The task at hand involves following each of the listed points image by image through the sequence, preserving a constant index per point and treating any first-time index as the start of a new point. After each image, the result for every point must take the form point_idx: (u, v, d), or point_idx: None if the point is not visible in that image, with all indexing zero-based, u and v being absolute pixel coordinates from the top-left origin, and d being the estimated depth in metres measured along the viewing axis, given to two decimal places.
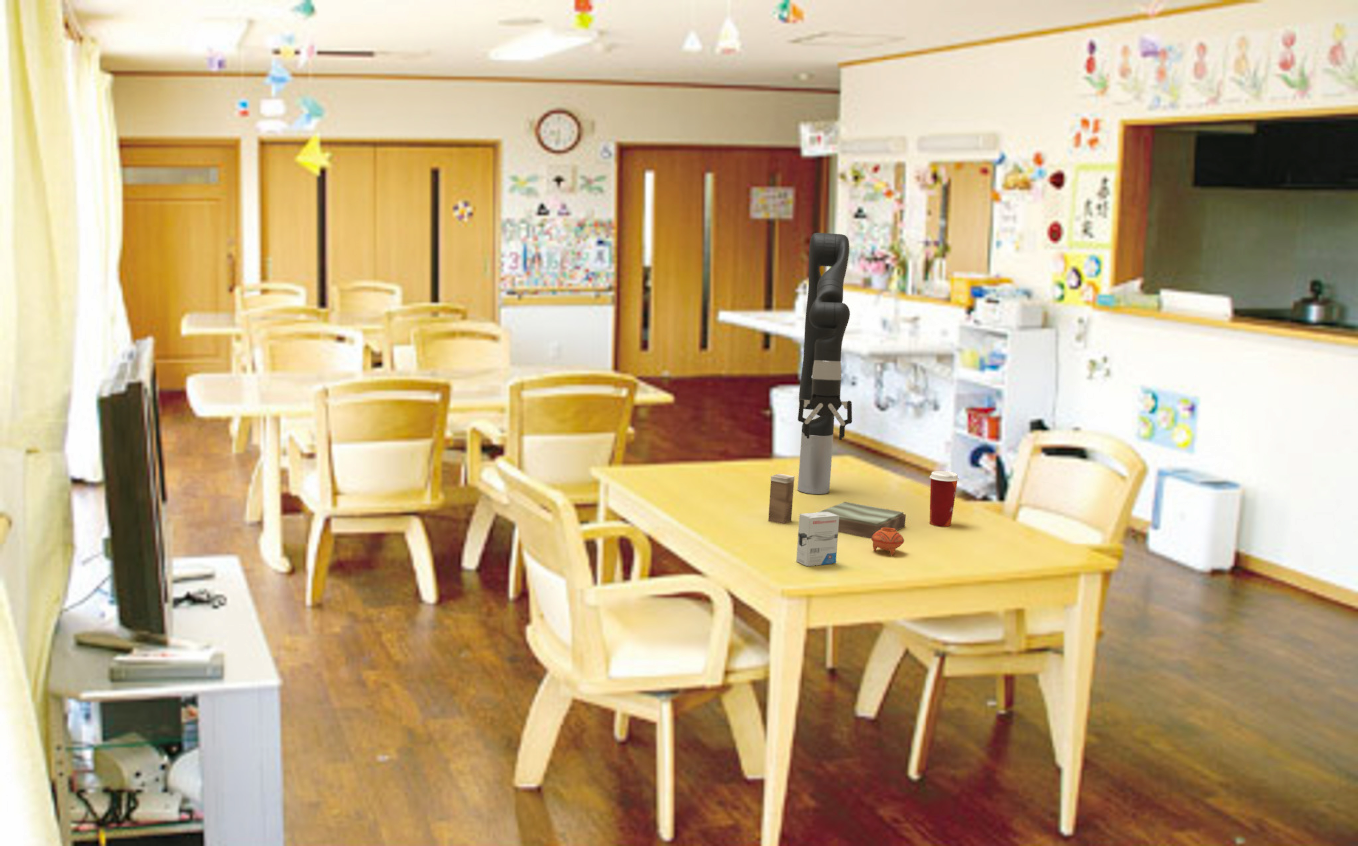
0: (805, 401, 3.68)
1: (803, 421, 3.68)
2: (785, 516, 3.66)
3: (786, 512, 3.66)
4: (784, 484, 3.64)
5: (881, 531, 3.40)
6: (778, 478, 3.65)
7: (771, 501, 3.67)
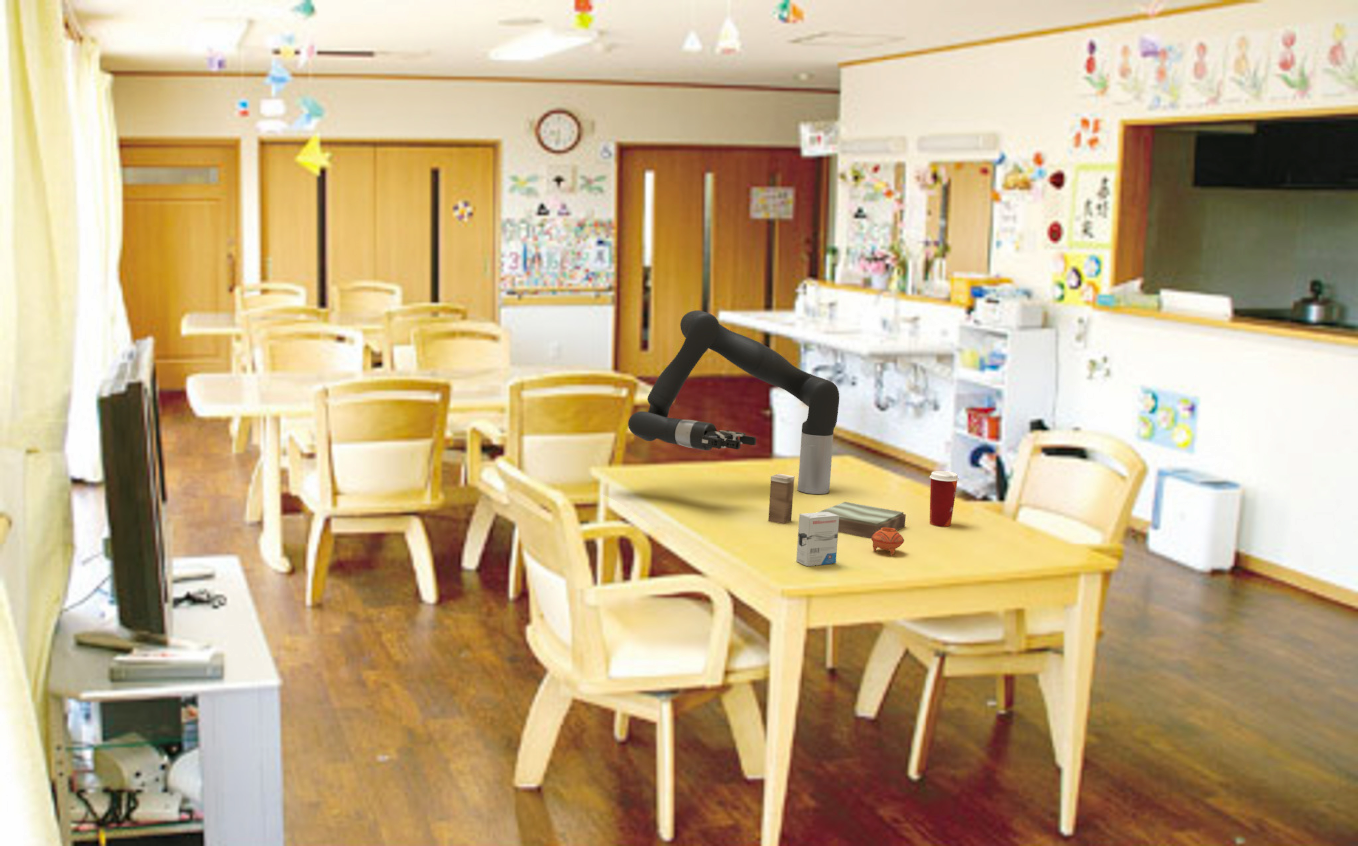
0: None
1: None
2: (785, 516, 3.66)
3: (786, 512, 3.66)
4: (784, 484, 3.64)
5: (881, 531, 3.40)
6: (778, 478, 3.65)
7: (771, 501, 3.67)
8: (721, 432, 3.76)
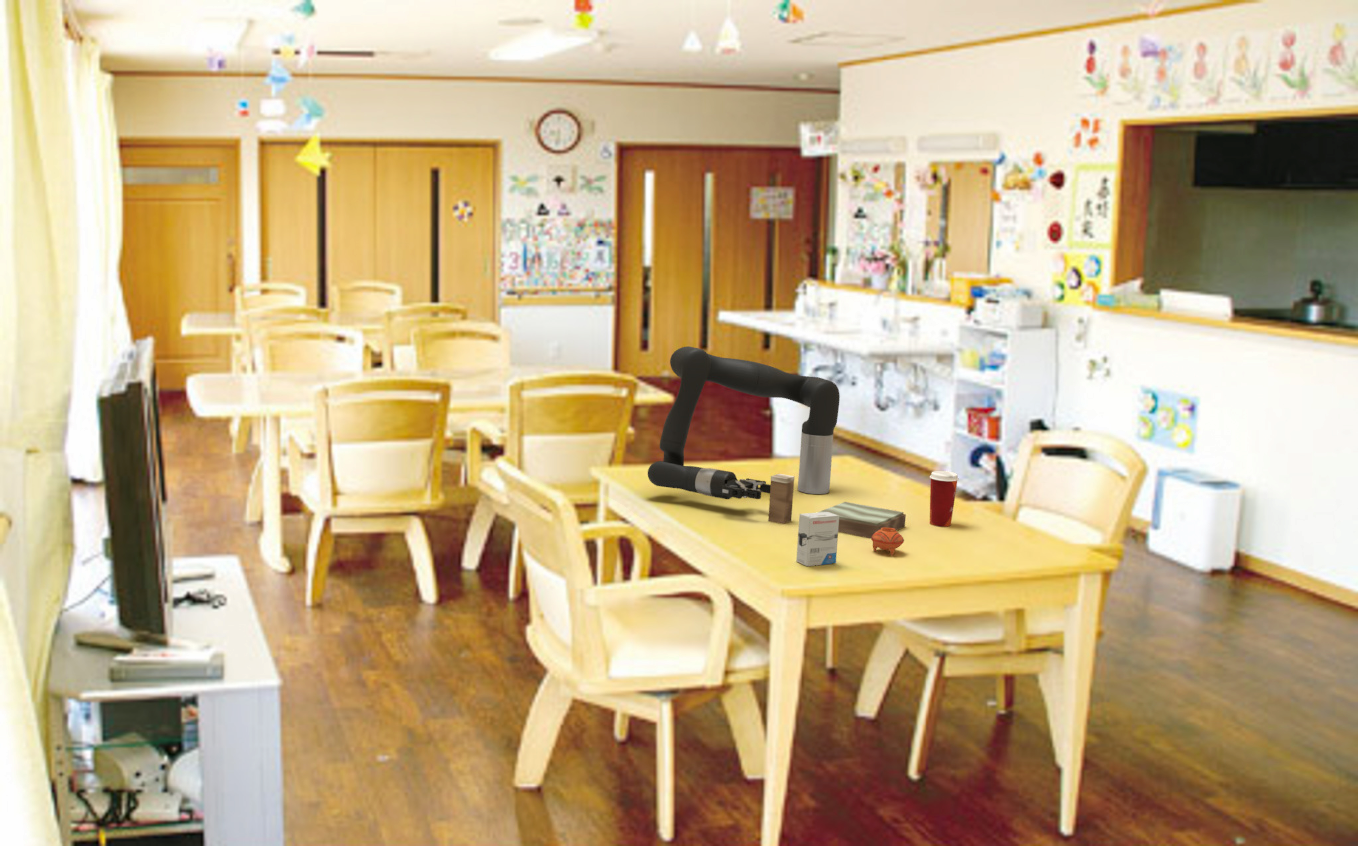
0: None
1: None
2: (785, 516, 3.66)
3: (786, 512, 3.66)
4: (784, 484, 3.64)
5: (881, 531, 3.40)
6: (778, 478, 3.65)
7: (771, 501, 3.67)
8: (741, 481, 3.74)
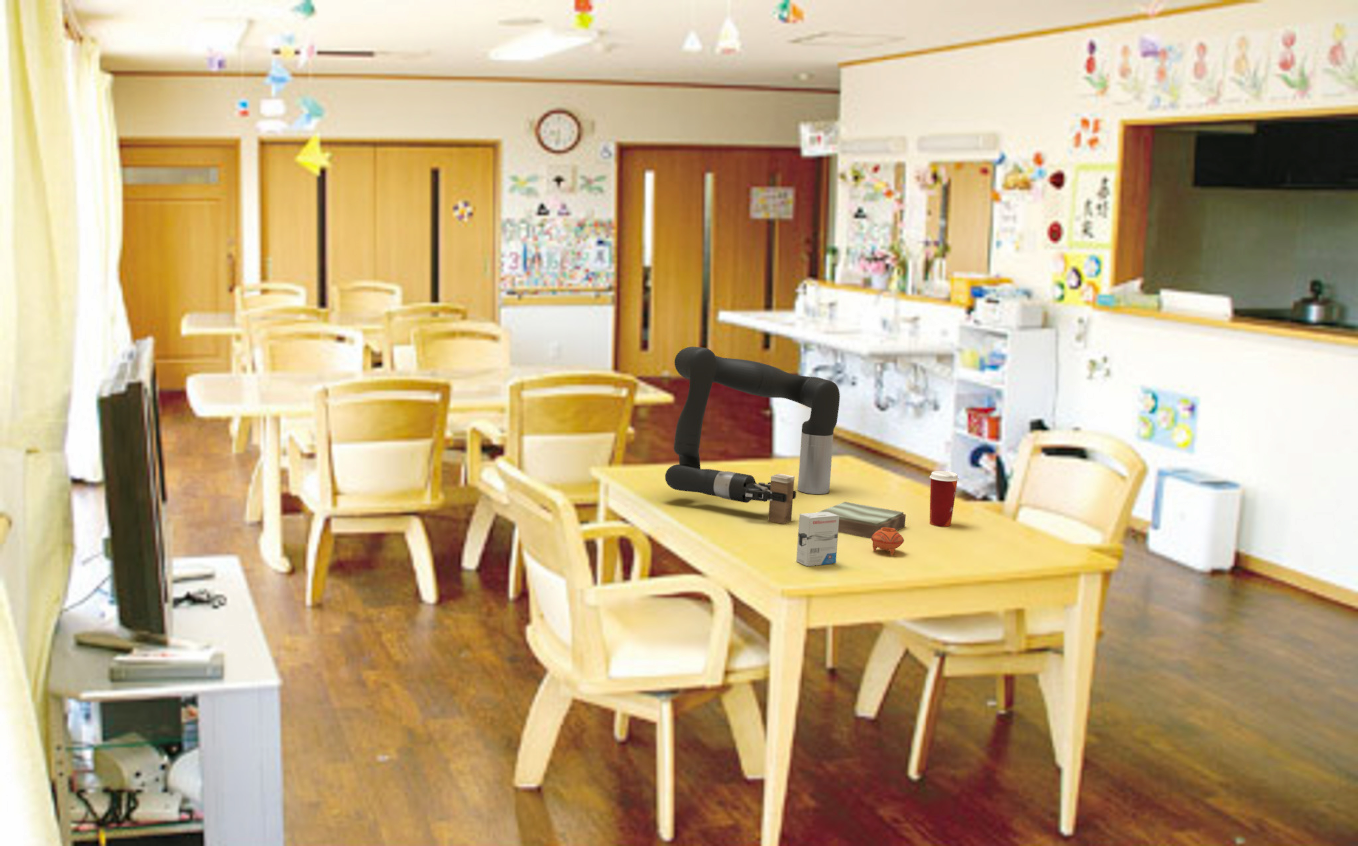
0: None
1: None
2: (785, 516, 3.66)
3: (786, 512, 3.66)
4: (784, 484, 3.64)
5: (881, 531, 3.40)
6: (778, 478, 3.65)
7: (771, 501, 3.67)
8: (760, 484, 3.71)
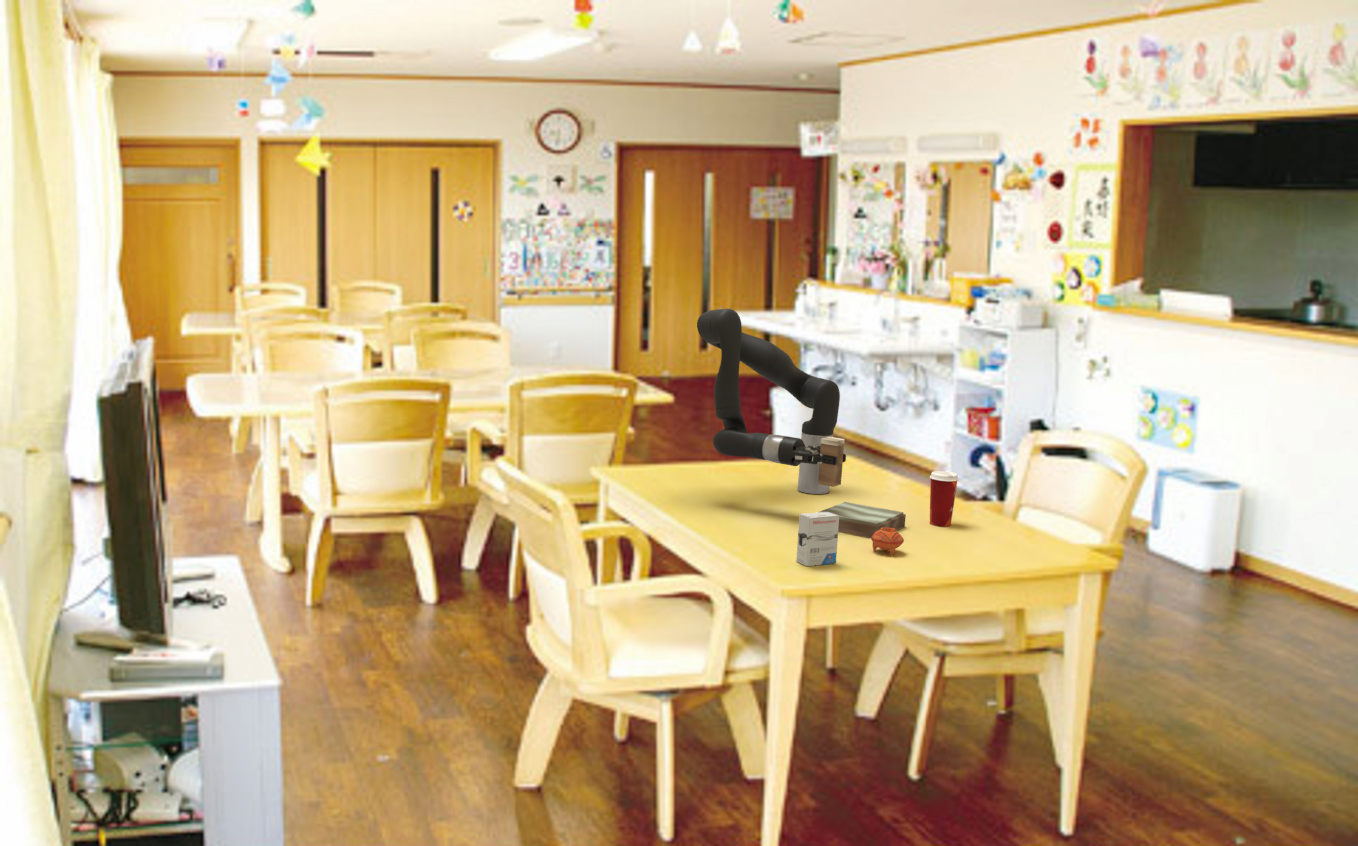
0: None
1: None
2: (835, 479, 3.63)
3: (836, 475, 3.63)
4: (835, 447, 3.61)
5: (881, 531, 3.40)
6: (828, 441, 3.62)
7: (821, 464, 3.64)
8: (809, 447, 3.68)
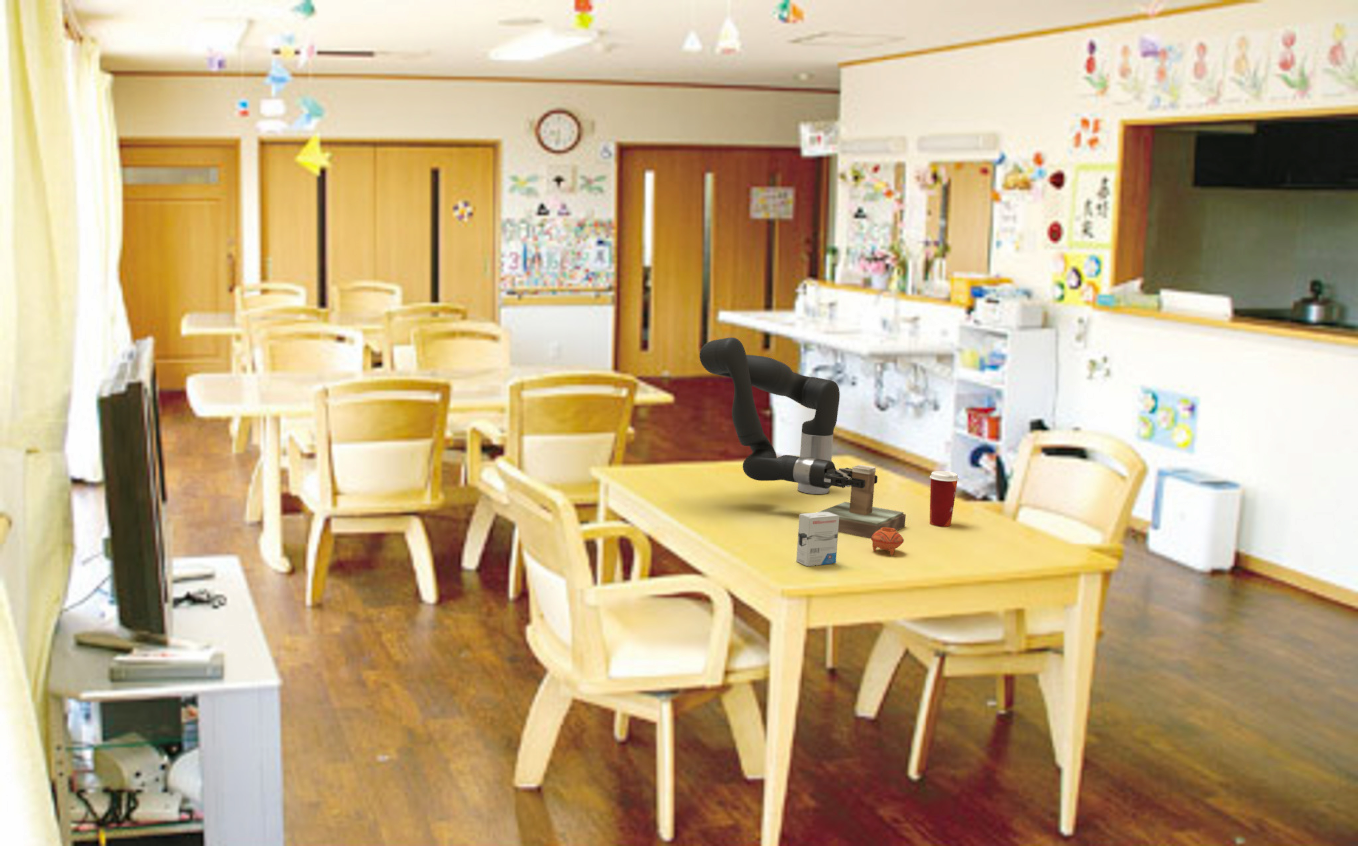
0: None
1: None
2: (867, 507, 3.63)
3: (867, 503, 3.63)
4: (867, 475, 3.61)
5: (881, 531, 3.41)
6: (860, 469, 3.62)
7: (852, 492, 3.64)
8: (841, 470, 3.68)
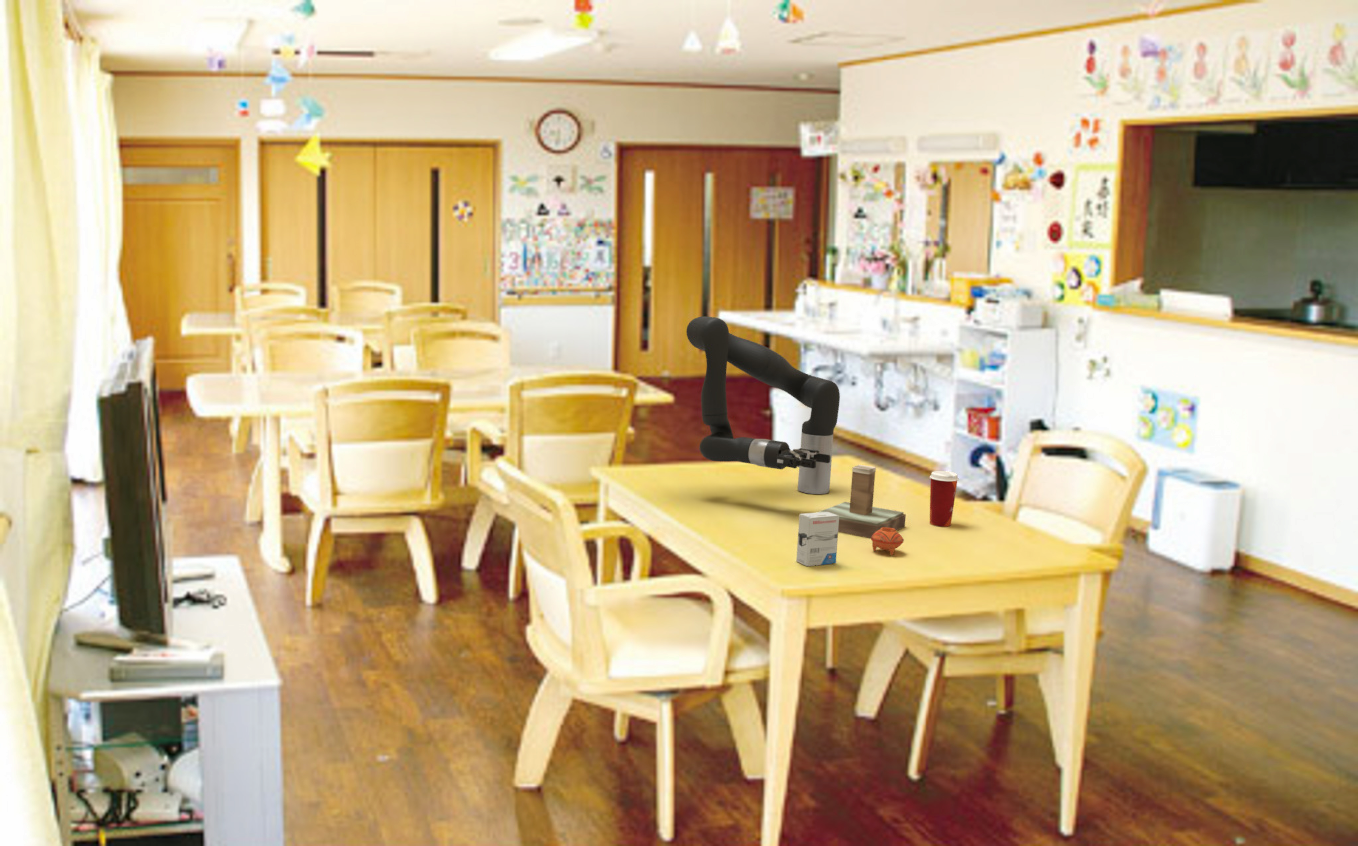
0: None
1: None
2: (867, 507, 3.63)
3: (867, 503, 3.63)
4: (867, 475, 3.61)
5: (881, 531, 3.41)
6: (860, 469, 3.62)
7: (852, 492, 3.64)
8: (795, 451, 3.75)
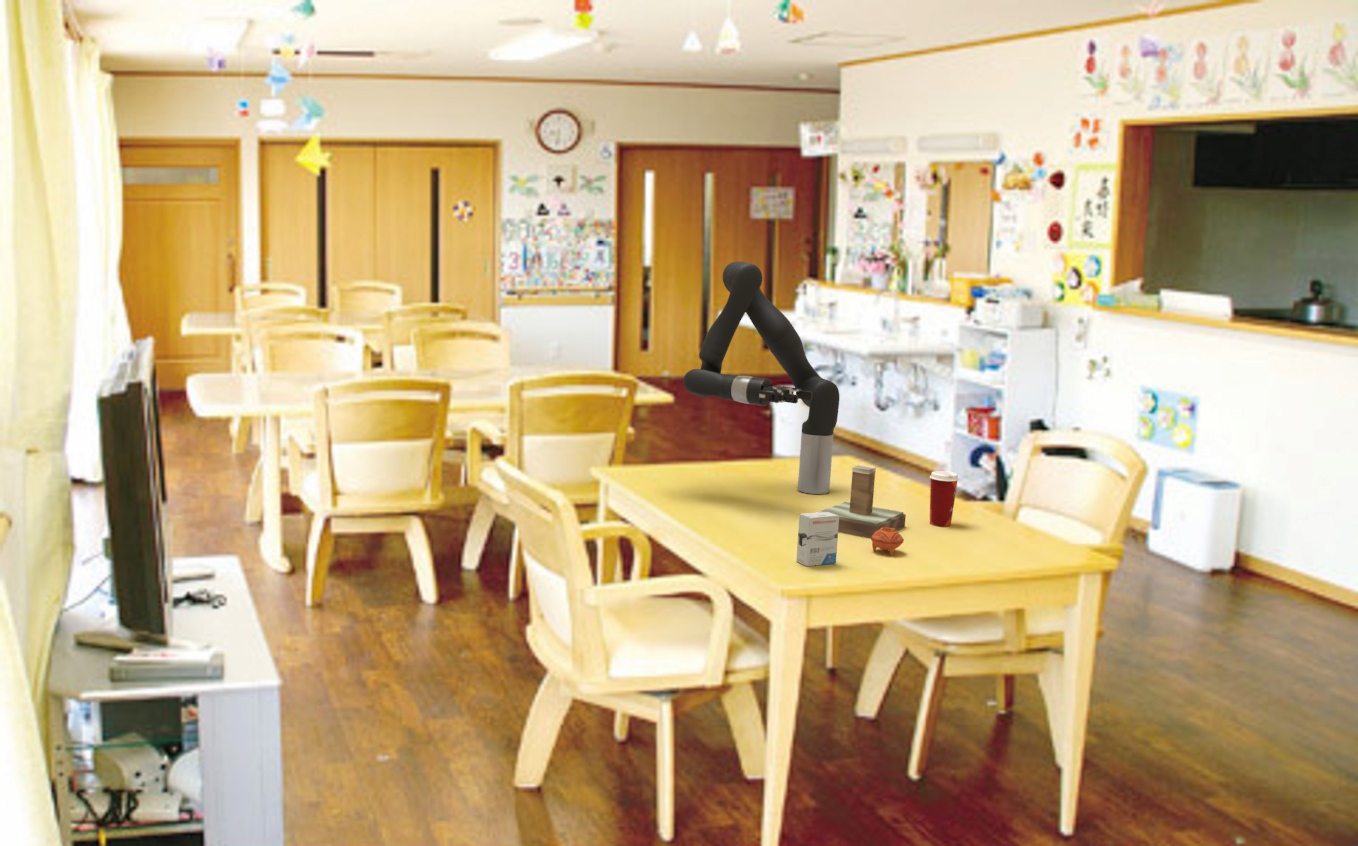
0: None
1: None
2: (867, 507, 3.63)
3: (867, 503, 3.63)
4: (867, 475, 3.61)
5: (881, 531, 3.41)
6: (860, 469, 3.62)
7: (852, 492, 3.64)
8: (777, 387, 3.77)
